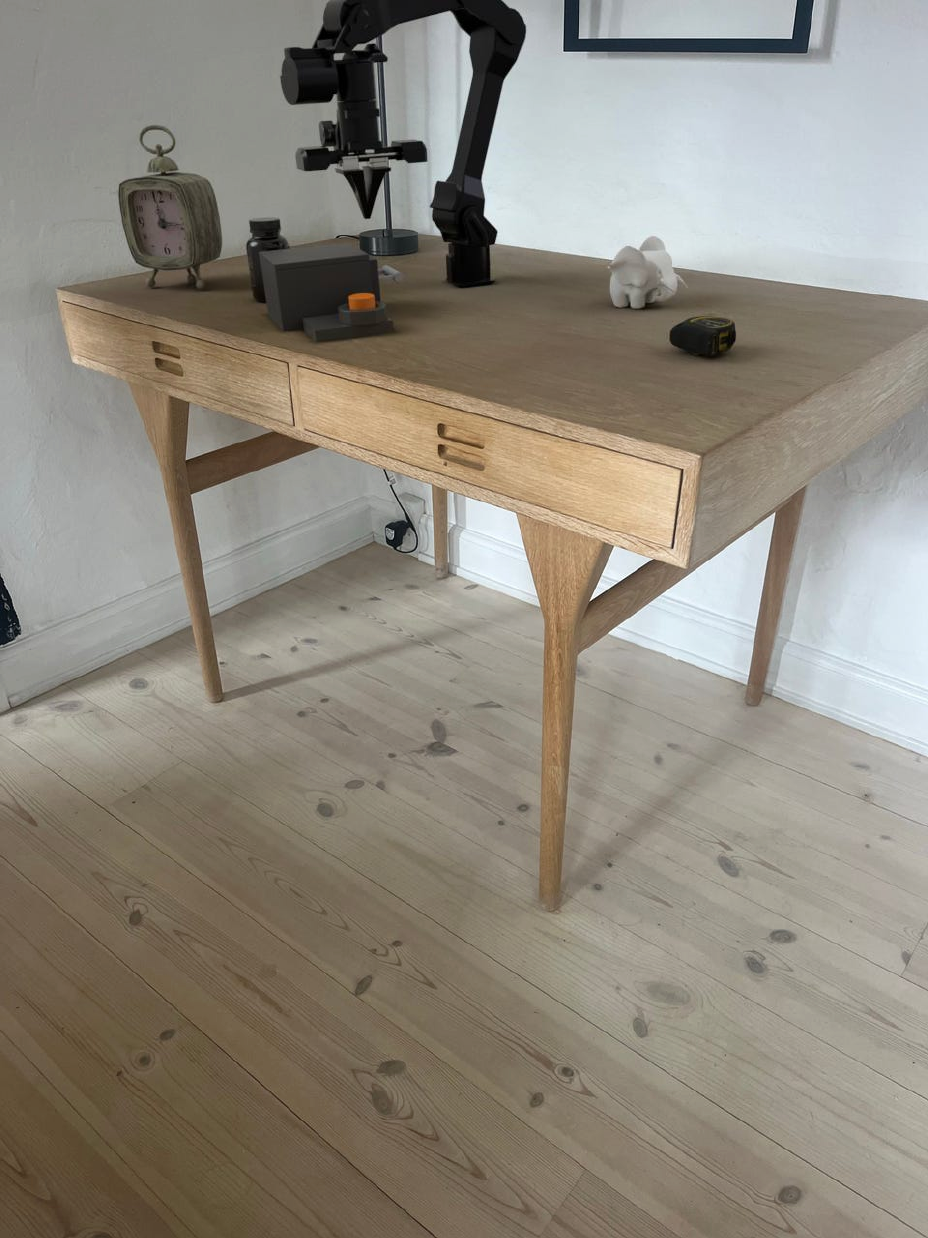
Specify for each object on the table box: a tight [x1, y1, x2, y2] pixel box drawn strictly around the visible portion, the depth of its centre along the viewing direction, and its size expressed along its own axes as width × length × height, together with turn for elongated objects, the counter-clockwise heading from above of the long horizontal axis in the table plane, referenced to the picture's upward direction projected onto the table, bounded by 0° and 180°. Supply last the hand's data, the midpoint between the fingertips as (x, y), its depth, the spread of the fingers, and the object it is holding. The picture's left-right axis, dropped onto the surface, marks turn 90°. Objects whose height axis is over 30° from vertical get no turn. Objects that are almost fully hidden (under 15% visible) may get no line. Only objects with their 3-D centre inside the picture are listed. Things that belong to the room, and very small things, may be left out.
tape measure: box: [668, 315, 737, 357], centre depth 112 cm, size 7×7×4 cm
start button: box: [348, 293, 375, 310], centre depth 126 cm, size 4×4×2 cm
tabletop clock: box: [117, 124, 223, 291], centre depth 155 cm, size 14×9×25 cm, turn 68°
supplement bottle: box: [245, 216, 291, 303], centre depth 146 cm, size 7×7×12 cm
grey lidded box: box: [259, 242, 373, 332], centre depth 135 cm, size 14×12×9 cm
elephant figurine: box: [606, 235, 688, 310], centre depth 133 cm, size 10×12×9 cm
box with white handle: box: [369, 254, 404, 302], centre depth 136 cm, size 17×10×7 cm, turn 111°
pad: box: [302, 301, 394, 343], centre depth 128 cm, size 11×9×4 cm
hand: (367, 218), depth 139 cm, fingers closed
